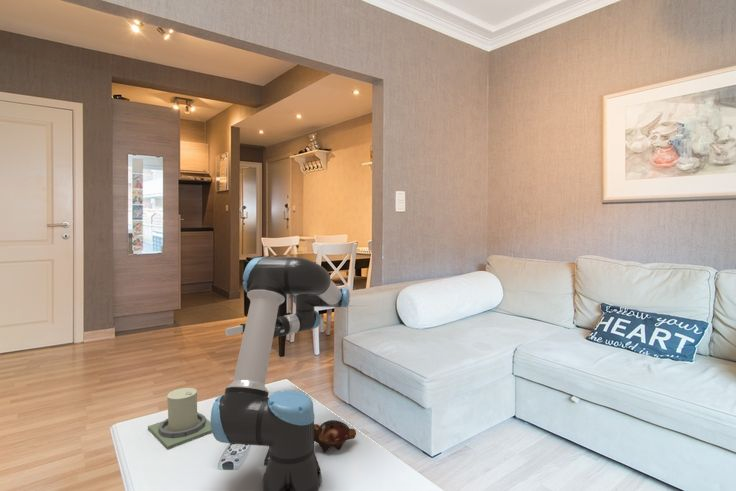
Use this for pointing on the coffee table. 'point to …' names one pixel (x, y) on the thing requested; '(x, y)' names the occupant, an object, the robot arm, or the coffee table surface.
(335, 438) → the decorative turtle
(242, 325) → the robot arm
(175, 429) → the can
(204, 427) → the deck mount
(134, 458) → the coffee table surface
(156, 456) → the coffee table surface
